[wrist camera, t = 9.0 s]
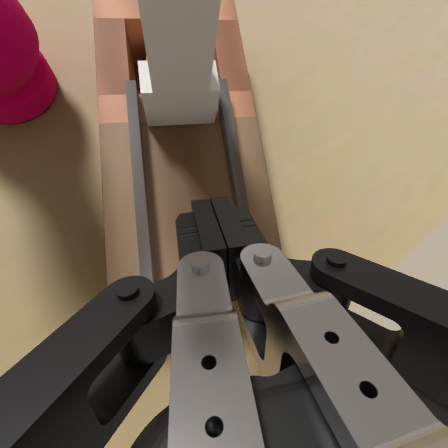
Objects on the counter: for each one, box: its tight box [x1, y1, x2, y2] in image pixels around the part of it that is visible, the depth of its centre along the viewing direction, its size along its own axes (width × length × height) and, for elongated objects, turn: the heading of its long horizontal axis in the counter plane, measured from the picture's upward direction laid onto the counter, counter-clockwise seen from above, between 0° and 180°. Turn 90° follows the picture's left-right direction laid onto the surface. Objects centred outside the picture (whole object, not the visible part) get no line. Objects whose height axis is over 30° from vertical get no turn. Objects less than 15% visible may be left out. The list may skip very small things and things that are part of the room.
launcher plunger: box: [138, 0, 221, 126], centre depth 11 cm, size 4×3×14 cm
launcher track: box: [92, 0, 282, 287], centre depth 19 cm, size 10×21×5 cm, turn 8°
